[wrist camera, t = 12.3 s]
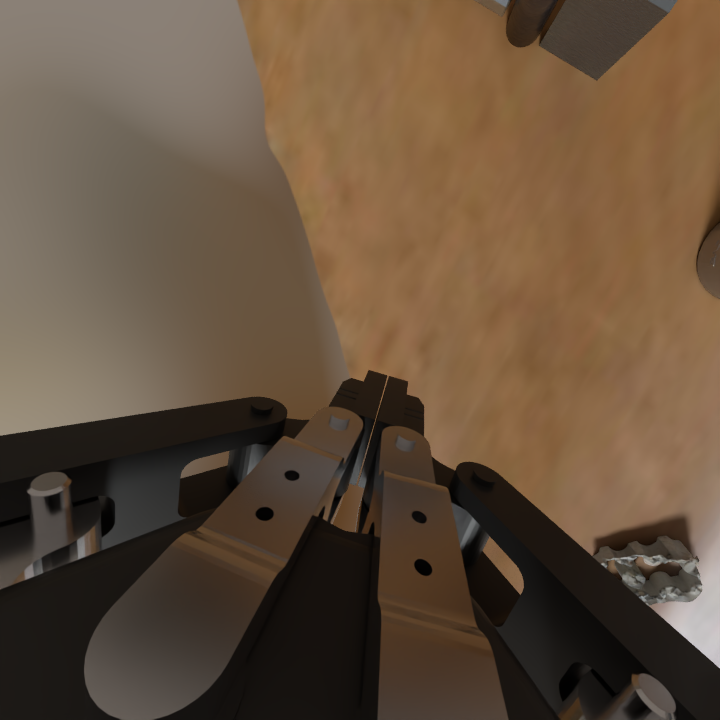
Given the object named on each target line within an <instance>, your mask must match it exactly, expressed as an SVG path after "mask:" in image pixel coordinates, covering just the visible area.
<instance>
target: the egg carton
mask: <svg viewBox="0 0 720 720" xmlns="http://www.w3.org/2000/svg"><path fill="white" fill-rule="evenodd" d="M637 556H641V557H644V558H643V560H644V562H645V563H646V564H648V565H650V566H657V565H660V564H661V563H662V562H663V563H665V564H666V563H667V562H676V563H679V564H680V565H681V567H682V569H681V570H680V571H679V575H678V576H672V577H670V576H669V575H668V574H667V573H665V572H660V571H659V572H655V573H653V574H651V575H650V578H649V580H647V581H645V577H644V576H643V574H642V573H641V571H640V570H639V568H638V567H637V565H636V564H635V562H634V559H636V558H637ZM592 557H594V558H595V559H596V560H597V561H598V562H599V563H600V564H601V565H603V566H604V567H605V568H606V569H607V566H608V564H607V560H615V564H614V565H615V567H616V569H617V570H618V572H619V574H620V576H621V577H622V580H621V582H622V583H623V584H624V585H625V586H626V587H628V588H629V589H630V590H631V591H632V592H633V593H634V594H636V595H637V596H638V597H639V598H640V599H641V600H642V601H644V602H645V603H646V604H647V605H648V606H650V605H652V604H655V603H665V602H668V601H678V602H690V601H693V600H695V599H696V598H697V597H698V596H699V594H700V593H701V592H702V584H701V581H700V574H699V572H698V569H697V567H696V565H697V566H699V564H698V562H699V559H698V558H697V556H696V558H694V557H693V556H692V555H691V553H689V551H688V550H687V549H686V547H685V546H684V545H683V544H682V543H681V541H680V540H672V539H670V538H669V537H668V536H661V537H658V539H657V541H656V542H655V543H654V544H652V545H648V546H645V545H641V544H639V543H638V542H637V541H634V542H631V543H628V545H627V547H626V548H625V549H623V550H621V551H614V550H612V549H610V548H609V546H604V547H601V548H600V550H599V552H598V553H597V554H596V555H594V556H592ZM607 570H608V569H607Z"/></svg>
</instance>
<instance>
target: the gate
mask: <svg viewBox="0 0 720 720" xmlns="http://www.w3.org/2000/svg"><path fill="white" fill-rule="evenodd" d="M475 1H476V2H478V3H480V4H481V5H483V6H485V7H486V8H488V9H490V10H491V11H493V12H495V13H496V14H498V15H500V16H501V17H503V15H504V13H505V11H506V9H507V7H508V5H509V4H510V2H511V0H475Z"/></svg>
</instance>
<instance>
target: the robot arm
mask: <svg viewBox="0 0 720 720" xmlns="http://www.w3.org/2000/svg"><path fill="white" fill-rule="evenodd" d="M697 272H698V275H699V279H700V282H701V283H702V285H703V286H704V288H705V289H706V290H707V291H708V292H709V293H711V294H712V295H713V296H715V297H717V298H719V299H720V222H719V223H718V224H717V225H716V226H715V228H714V229H713V230H712V231H711V232H710V233H709V235H708V236H707V238H706V239H705V241H704V242H703V245H702V247H701V249H700V252H699V256H698V261H697ZM386 379H387V375H384V374H381V373H377V372H374V371H371V370H369V371H368V373H367V375H366V378H365V380H364V382H363V381H360V380H356V379H353V378H351V379H348V380H346V381H344V382H343V383H342V384H341V386H340V388H339V390H338V391H337V393H336V395H335V396H334V398H333V400H332V402H331V403H330V405H329V407H324V408H322V409H320V410H318V411H317V412H316V414H315V415H314V416H313V417H312V418H311V419H310V420H297V419H288V418H286V417H287V409H286V408H285V407H284V405H283V404H281V403H280V402H278V401H276V400H273V399H270V398H265V397H249V398H242V399H236V400H229V401H223V402H216V403H210V404H203V405H197V406H191V407H184V408H178V409H171V410H164V411H158V412H151V413H146V414H138V415H132V416H125V417H119V418H113V419H106V420H99V421H93V422H87V423H80V424H74V425H67V426H61V427H54V428H48V429H41V430H35V431H28V432H22V433H16V434H9V435H3V436H0V720H720V668H718V667H717V666H716V665H715V664H714V663H713V662H712V661H711V660H709V659H708V658H707V657H706V656H705V655H704V654H703V653H701V652H700V651H699V650H698V649H697V648H696V647H695V646H694V645H692V644H691V643H690V642H689V641H688V640H687V639H686V638H684V637H683V636H682V635H681V634H680V633H679V632H678V631H676V630H675V629H674V628H673V627H672V626H671V625H670V624H669V623H667V622H666V621H665V620H664V619H663V618H662V617H661V616H659V615H658V614H657V613H656V612H655V611H654V610H653V609H651V608H650V607H649V606H648V605H647V604H646V603H645V602H644V601H642V600H641V599H640V598H639V597H638V596H637V595H636V594H634V593H633V592H632V591H631V590H630V589H629V588H628V587H626V586H625V585H624V584H623V583H622V582H621V581H620V580H619V579H617V578H616V577H615V576H614V575H613V574H612V573H611V572H609V571H608V570H607V569H606V568H605V567H604V566H603V565H601V564H600V563H599V562H598V561H597V560H596V559H595V558H594V557H592V556H591V555H590V554H589V553H588V552H587V551H586V550H584V549H583V548H582V547H581V546H580V545H579V544H578V543H576V542H575V541H574V540H573V539H572V538H571V537H570V536H569V535H567V534H566V533H565V532H564V531H563V530H562V529H561V528H559V527H558V526H557V525H556V524H555V523H554V522H553V521H551V520H550V519H549V518H548V517H547V516H546V515H545V514H544V513H542V512H541V511H540V510H539V509H538V508H537V507H536V506H534V505H533V504H532V503H531V502H530V501H529V500H528V499H527V498H525V497H524V496H523V495H522V494H521V493H520V492H519V491H517V490H516V489H515V488H514V487H513V486H512V485H511V484H509V483H508V482H507V481H506V480H505V479H504V478H503V477H502V476H500V475H499V474H498V473H497V472H495V471H494V470H492V469H490V468H488V467H486V466H484V465H481V464H478V463H474V462H463V463H460V464H459V465H458V466H457V468H456V470H455V471H454V470H453V469H451V468H449V467H447V466H445V465H443V464H441V463H440V462H438V461H437V460H435V459H434V458H433V457H432V456H431V450H430V445H429V443H428V441H427V440H426V438H424V405H423V404H422V402H421V401H420V399H419V398H417V397H413V396H410V395H407V386H408V381H405V380H401V379H398V378H394V377H391V376H389V378H388V381H387V385H386V388H385V391H384V395H383V398H382V401H381V405H380V408H379V404H380V400H381V397H382V393H383V390H384V386H385V383H386ZM378 408H379V411H378ZM377 411H378V415H377ZM376 415H377V418H376ZM375 418H376V422H375ZM374 422H375V425H374ZM373 425H374V429H373ZM372 429H373V432H372ZM371 432H372V436H371V440H370V443H369V447H368V451H367V455H366V458H365V462H364V465H363V469H362V473H361V476H360V480H359V483H358V486H360V487H363V488H364V492H363V496H362V499H361V502H360V506H359V509H358V517H357V524H356V531H355V532H348V531H344V530H342V529H340V528H338V527H336V526H334V525H333V524H332V523H333V521H334V518H335V516H336V514H337V511H338V509H339V506H340V505H341V502H342V498H343V495H344V493H345V492H346V491H347V489H348V486H349V483H350V484H353V485H356V482H357V479H358V476H359V472H360V469H361V466H362V462H363V459H364V455H365V452H366V449H367V445H368V442H369V439H370V435H371ZM226 451H230V452H229V460H228V465H227V466H224V467H220V468H217V469H213V470H210V471H206V472H203V473H199V474H196V475H192V476H189V477H185V478H181V479H180V476H181V472H182V470H183V469H184V467H185V466H186V465H187V464H188V463H190V462H191V461H193V460H195V459H198V458H202V457H206V456H210V455H214V454H218V453H222V452H226ZM489 536H490V537H491V538H492V539H493V540H494V541H495V542H496V543H497V545H498V546H499V547H500V548H501V549H502V550H503V551H504V552H505V553H506V554H507V555H508V557H509V558H510V559H511V560H512V561H513V562H514V563H515V564H516V565H517V567H518V568H519V570H520V572H521V574H522V576H523V580H524V589H523V592H522V594H521V595H520V594H519V593H518V592H517V591H516V589H515V588H514V587H513V586H512V585H511V584H510V583H509V581H508V580H507V579H506V578H505V577H504V576H503V574H502V573H501V572H500V571H499V570H498V569H497V567H496V566H495V565H494V564H493V563H492V562H491V560H490V559H489V558H488V557H487V556H486V555H485V554H484V552H483V551H482V550H483V548H484V546H485V544H486V542H487V540H488V538H489Z"/></svg>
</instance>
